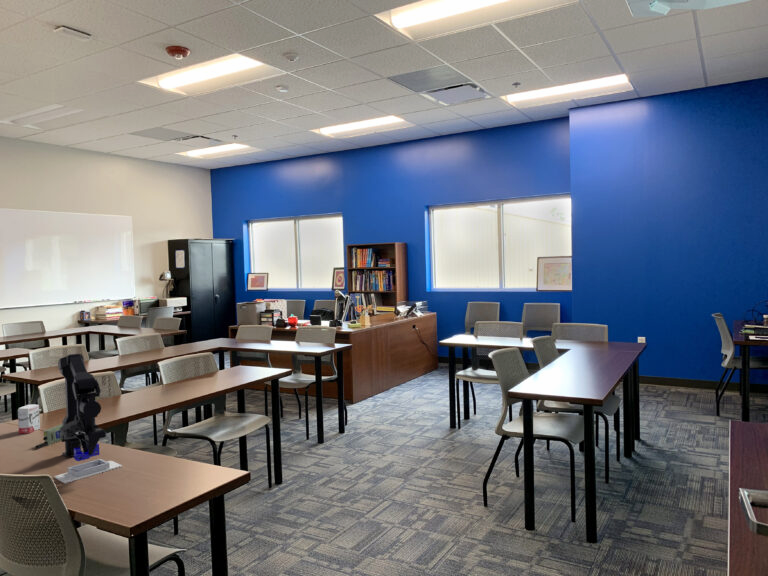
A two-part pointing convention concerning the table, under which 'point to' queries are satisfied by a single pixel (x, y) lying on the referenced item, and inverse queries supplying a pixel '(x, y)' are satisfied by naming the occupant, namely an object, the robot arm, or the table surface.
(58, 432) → the handheld radio
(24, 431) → the ink box
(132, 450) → the table surface
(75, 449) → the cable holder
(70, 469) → the desk organizer
